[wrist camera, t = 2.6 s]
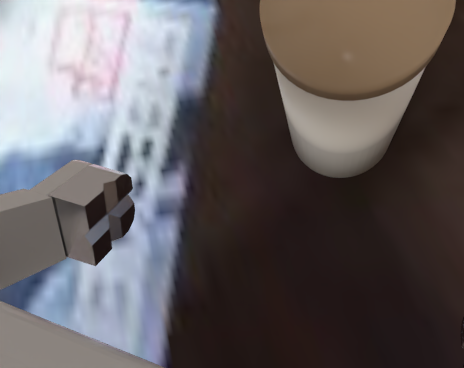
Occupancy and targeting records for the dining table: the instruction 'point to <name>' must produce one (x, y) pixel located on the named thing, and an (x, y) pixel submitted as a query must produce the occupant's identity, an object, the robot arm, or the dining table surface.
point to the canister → (349, 72)
